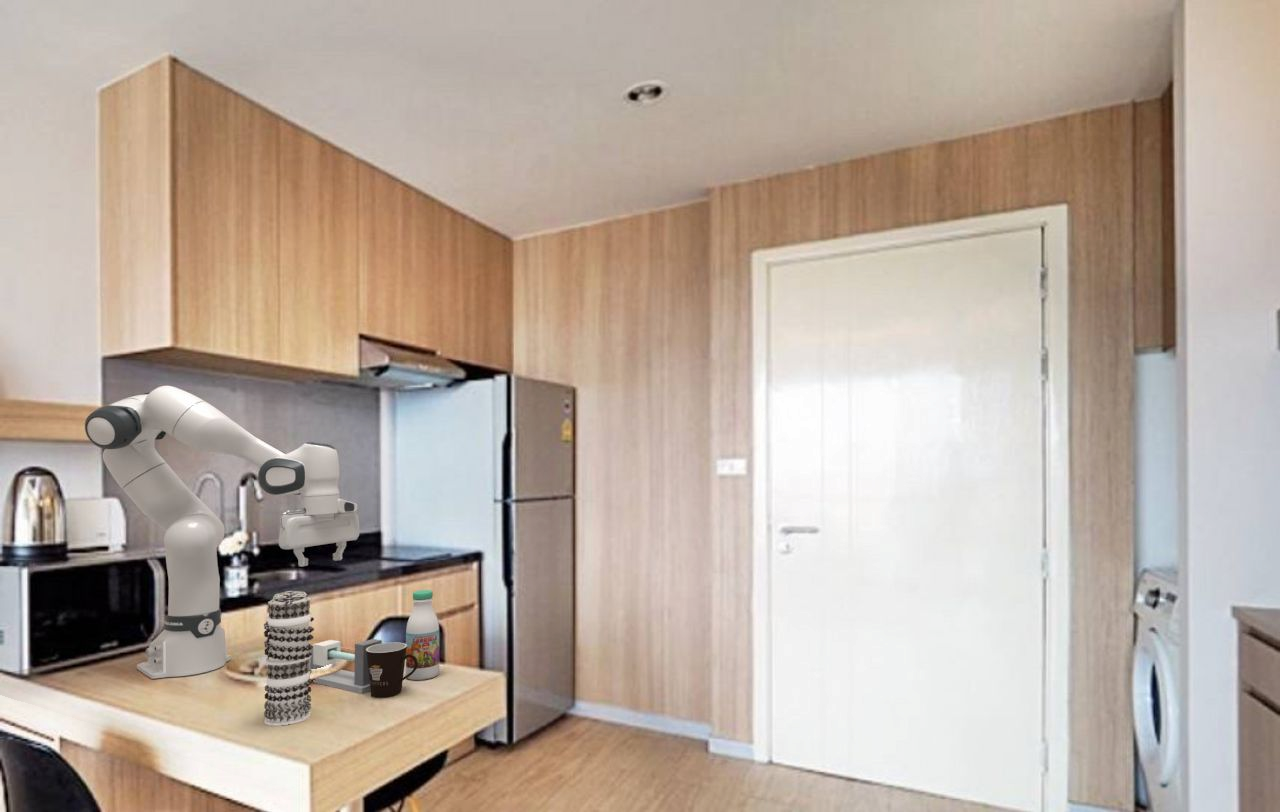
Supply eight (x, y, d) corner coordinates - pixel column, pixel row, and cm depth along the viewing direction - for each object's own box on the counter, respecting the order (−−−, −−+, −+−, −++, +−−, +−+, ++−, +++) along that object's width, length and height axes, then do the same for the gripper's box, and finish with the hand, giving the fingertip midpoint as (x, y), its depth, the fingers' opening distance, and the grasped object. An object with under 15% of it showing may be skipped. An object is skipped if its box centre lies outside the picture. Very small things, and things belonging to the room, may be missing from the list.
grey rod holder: (301, 679, 167) (302, 636, 168) (327, 671, 173) (328, 629, 174) (362, 693, 156) (362, 647, 157) (387, 684, 162) (388, 639, 163)
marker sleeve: (312, 663, 167) (313, 644, 168) (330, 659, 171) (330, 639, 172) (323, 666, 165) (323, 646, 166) (340, 661, 169) (340, 641, 170)
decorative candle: (265, 714, 145) (267, 590, 147) (314, 707, 148) (316, 587, 150) (258, 729, 136) (261, 598, 138) (310, 722, 139) (312, 594, 141)
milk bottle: (400, 676, 169) (400, 591, 170) (430, 669, 174) (430, 587, 175) (414, 683, 163) (414, 595, 164) (445, 675, 168) (445, 591, 170)
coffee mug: (358, 694, 156) (359, 648, 157) (394, 684, 162) (395, 640, 163) (383, 705, 148) (384, 657, 149) (420, 695, 154) (421, 648, 155)
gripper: (288, 510, 165) (289, 570, 164) (363, 503, 182) (363, 557, 181) (273, 510, 168) (273, 569, 167) (347, 503, 185) (347, 556, 184)
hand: (320, 563), depth 174 cm, fingers open, 8 cm apart
